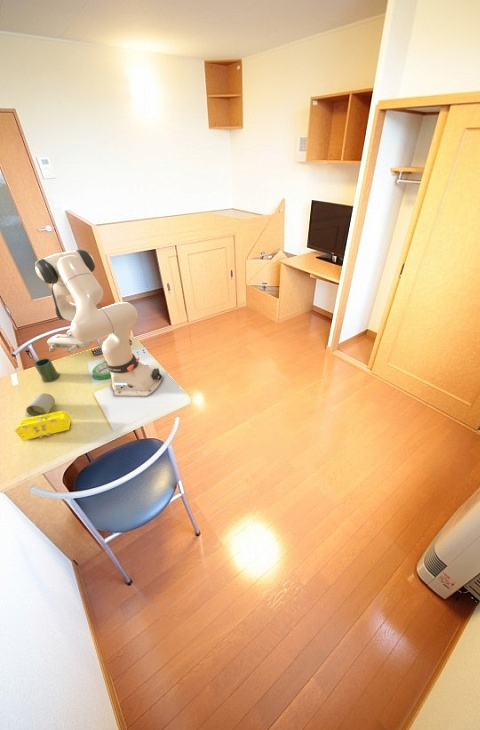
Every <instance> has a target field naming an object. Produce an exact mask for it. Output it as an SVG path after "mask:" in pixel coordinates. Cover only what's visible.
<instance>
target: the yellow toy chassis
mask: <svg viewBox="0 0 480 730" xmlns="http://www.w3.org/2000/svg"><path fill="white" fill-rule="evenodd" d="M71 422H72V418H71V417H70V415H69V414H68V412H67V411H62V410H58V411H54V412H49V413H48V414H44V415H40V416H35V417H32V416H30V417H27V418H23V419H21V421H20V422H19V425H18V426H17V427H15V429H14V432H15V433H16V435H17V436H18V438H20V440H21V441H27V440H30V439H31V440H33V439H36V438H40V439H43V438H44V437H43V436H47V437H51V435H53V434H56V433H62V432H65V431H69V430H70V425H71Z"/></svg>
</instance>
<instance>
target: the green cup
mask: <svg viewBox="0 0 480 730" xmlns="http://www.w3.org/2000/svg"><path fill="white" fill-rule="evenodd" d="M33 364H34V365H33V366H34V367H35V370H37V372H38V375H40V377H41V379H42V380H43V382H45V383H51V382H54V381H55V380H57V379H58V378H59V373H58V371H57V369H56V367H55V365H54V363H53V362H52V360H51V359H50V357H49V358H47V357H46V358H45V357H44V358H41V359H38V360H37V361H35V362H34V363H33Z"/></svg>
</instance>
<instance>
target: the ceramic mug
mask: <svg viewBox="0 0 480 730" xmlns="http://www.w3.org/2000/svg"><path fill="white" fill-rule="evenodd" d="M55 399H56V398H55V397H54V396H52V395H51V394H50V393H39V394H38V395H36V396H35V397H34V398H33V400H32V401H31V402H30V403H29V404H28V405H26V407H25V414H26V415H28V416H30V417H35V416H40V415H44V414H49V413H50V411H51V410H52V408H53V407H54V405H55V402H56V400H55Z"/></svg>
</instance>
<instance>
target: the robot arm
mask: <svg viewBox="0 0 480 730" xmlns="http://www.w3.org/2000/svg"><path fill="white" fill-rule="evenodd" d="M34 269H35V273H36V275H37V276H38V278H39V279H41V281H43V282H44V283H46V284H49V285H51V286H50V289H51V294H52V299H53V303H54V307H55V308H54V309H55V310H54V311H55V315H56V317H57V318H58V319H59V320H61V321H67V322H70V325H69V326H70V327H69V328H70V329H68V330H67V331H66V333H65V334H55V335H54V336H51V337H50V338H48V340H47V341H46V343H47V345H48V347H49V348H48V351H49V352H51V353H53V352H55V351H56V349H57V348H58V349H67V350H66V351H67V353H69V354H71V353H73V352H75V351H77V350H86V349H88V347H90V345H92V344H93V342H95V341H98V340H101V339H103V338H105V337H106V339H105V340H104V341H103V342H102V345H101V352H102V354H103V357H104V359H105V362H106V365H107V371H110V373H111V377H110V378H111V387H112V389H113V390H114V392H113V393H114V395H115V396H117V397H118V396H120V397H148V396H150V395H151V394H152V393H154V392H155V391H156V390H157V389H158V387H159V386H160V385H161V383H162V379H163V377H162V374H160V368H159V367H157V368H151V367H150V366H149V364H147V363H146V364H144V363H142V362H140V357H136V355H135V354H134V353H133V351H132V348H131V343H130V336H131V332H132V330H133V327H134V326H135V324H136V323H137V322H138V320H139V319H138V318H139V315H138V310H137V308H136V307H135V306H134V305H133V304H132V303H130V302H128V301H124V302H123V301H122V302H116V303H113V304H110V305H107V306H104V307H102V308H97V305H98V304H99V303H100V302H101V301H102V299H103V297H104V290H103V288H102V286H101V285H100V283H99V281H98V280H97V279H96V277H95V276H94V274H93V272H94V271H95V269H96V264H95V260H94V258H93V256H92V255H91V254H90V253H89V252H88V251H87V250H85V249H75V250H72V251H71V250H70V251H65V252H61V253H59V252H58V253H55V254H52V255H49V256H47V257H45V258H43V257H42V258H40V259H38V260H36V261H35V263H34ZM67 296H71V297H72V299H73V301H74V303H73V302H70V301H68V300H67Z"/></svg>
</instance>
